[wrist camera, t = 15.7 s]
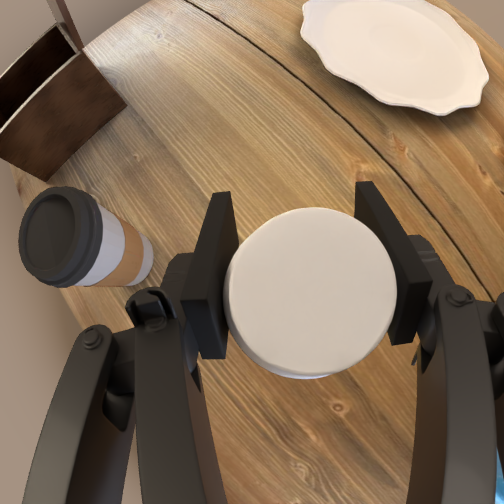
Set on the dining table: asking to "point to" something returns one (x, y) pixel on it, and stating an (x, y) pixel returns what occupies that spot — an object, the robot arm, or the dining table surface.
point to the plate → (397, 52)
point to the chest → (52, 104)
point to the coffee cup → (81, 242)
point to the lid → (65, 21)
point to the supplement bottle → (309, 293)
